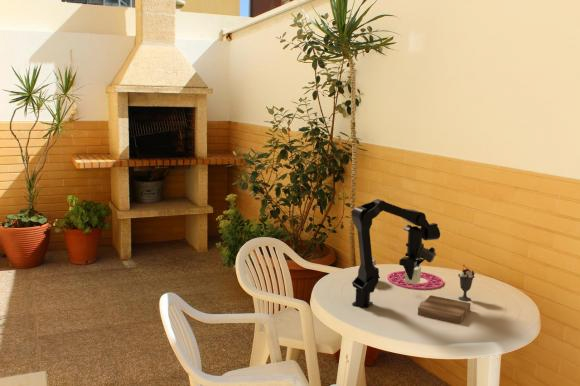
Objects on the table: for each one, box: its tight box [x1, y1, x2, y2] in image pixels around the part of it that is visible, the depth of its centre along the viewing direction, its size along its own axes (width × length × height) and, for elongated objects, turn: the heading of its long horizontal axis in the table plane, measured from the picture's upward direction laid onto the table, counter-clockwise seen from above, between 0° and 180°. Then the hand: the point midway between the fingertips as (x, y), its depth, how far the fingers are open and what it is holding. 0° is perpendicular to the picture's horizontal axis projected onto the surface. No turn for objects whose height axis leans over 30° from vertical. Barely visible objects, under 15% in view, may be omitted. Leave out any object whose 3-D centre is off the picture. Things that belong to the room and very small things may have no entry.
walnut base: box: [417, 294, 472, 325], centre depth 220 cm, size 16×16×3 cm
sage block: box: [404, 266, 422, 284], centre depth 233 cm, size 5×5×6 cm
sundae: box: [457, 264, 476, 302], centre depth 234 cm, size 7×7×15 cm
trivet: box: [386, 270, 445, 291], centre depth 258 cm, size 25×25×1 cm
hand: (412, 278), depth 233 cm, fingers closed on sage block, 5 cm apart
